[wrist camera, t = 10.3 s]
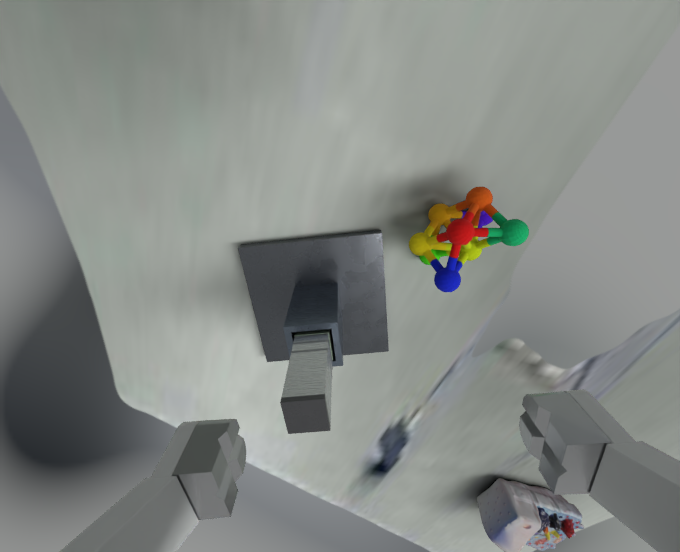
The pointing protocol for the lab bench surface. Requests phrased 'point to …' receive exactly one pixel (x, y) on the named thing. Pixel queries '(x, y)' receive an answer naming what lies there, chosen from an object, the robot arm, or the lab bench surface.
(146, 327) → the lab bench surface
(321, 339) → the post
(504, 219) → the molecular model
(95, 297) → the lab bench surface
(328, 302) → the dark grey socket base
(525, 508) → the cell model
